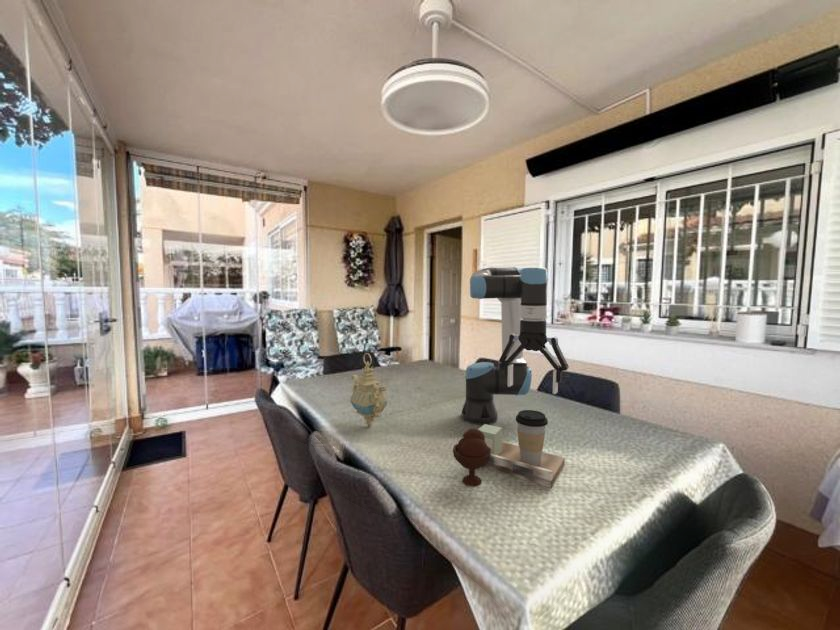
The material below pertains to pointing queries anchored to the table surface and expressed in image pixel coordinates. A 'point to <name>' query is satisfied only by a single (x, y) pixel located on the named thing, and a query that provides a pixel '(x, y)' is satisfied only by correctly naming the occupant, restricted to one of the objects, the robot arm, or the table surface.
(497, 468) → the shelf board
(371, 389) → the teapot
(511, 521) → the table surface
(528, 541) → the table surface
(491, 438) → the pale green box
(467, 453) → the ice cream bowl
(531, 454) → the coffee cup
